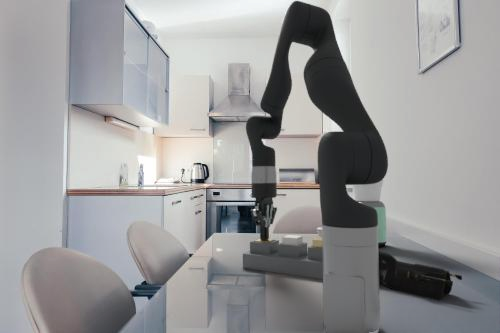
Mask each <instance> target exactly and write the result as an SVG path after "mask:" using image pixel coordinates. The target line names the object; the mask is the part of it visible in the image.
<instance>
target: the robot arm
mask: <svg viewBox="0 0 500 333" xmlns="http://www.w3.org/2000/svg"><path fill="white" fill-rule="evenodd" d="M292 43H295V44H299V45H304V46H306V47H310V48H311V49H312V50H313V51H314V52H313V53H312V54H311V56H310V57H309V58H308V60H307V61H306V63H305V66H304V69H303V81H304V85H305V88H306V91H307V95H308V97H309V99H310V101H311V102H312V104H313V105H314V106H315V107H316V108H317V109H318V110H319V111H320V112H321V113H323V114H324V115H325V116H326V117H328V118H329V119H331V120H332V121H333V122H334V123H335V124H336V125H337V126H338V127H339V128H340V129H341V131H329V132H326V133H324V134H323V135H322V136H321V138H320V140H319V141H318V148H317V172H318V183H319V184H318V186H319V202H320V211H321V227H322V252H323V279H322V300H323V301H322V302H323V307H322V308H323V326H324V327H325V333H369V332H374V331H376V330H378V329H379V328H380V329H381V303H380V302H381V301H380V300H381V298H380V297H381V295H380V283H379V255H378V251H379V246H378V215H377V211H376V209H374V208H373V207H370V206H367V205H364V204H362V203H359V202H357V201H356V200H355V198H353V197H352V196H350V195H349V193H348V189H347V186H353V185H366V184H374V183H378V182H380V181H381V180H382V179H383V180H384V178H385V177H386V176H387V173H388V167H389V161H388V160H389V159H388V158H389V157H388V152H387V149H386V148H387V147H386V146H385V143H384V140H383V138H382V136H381V135H380V134H381V133H380V132H379V130H378V129H377V127H376V125H375V124H374V122H373V120H372V118H371V117H370V115H369V113H368V111H367V110H366V108H365V106H364V104H363V103H362V100H361V98H360V95H359V93H358V91H357V89H356V87H355V85H354V81H353V78H352V76H351V74H350V71H349V68H348V65H347V64H346V62H345V60H344V58H343V55H342V53H341V52H342V51H341V50H340V46H339V44H338V41H337V38H336V33H335V29H334V25H333V21H332V17H331V14H330V13H329V12H328V10H326V9H325V8H322V7H320V6H317V5H313V4H311V3H308V2H303V1H300V0H294V1H293V2H291V3H290V4H289V5H288V7H287V9H286V10H285V14H284V16H283V19H282V21H281V25H280V29H279V34H278V38H277V42H276V47H275V52H274V56H273V60H272V65H271V70H270V73H269V78H268V81H267V83H266V85H265V88H264V91H263V95H262V96H261V98H260V99H261V100H260V104H259V105H260V106H259V107H260V109H261V110H262V111H263V113H266V114H268V115H259V114H254V115H251V116H249V118H248V119H247V121H246V125H245V131H246V135H247V139H248V142H249V145H250V146H249V147H250V150H251V159H252V161H251V164H252V165H251V166H252V168H251V197H252V198H254V199H255V202H254V209H250V215H251V217H252V219H253V221H254V224H255V226H256V227H259V235H260V236H259V239H261V240H268V239H270V227H271V225H273V223H274V220H275V216H276V214H277V211H278V208H277V207H276V206H274V200H273V199H276V198H277V196H278V193H277V184H278V182H277V169H276V168H277V167H276V149H275V148H273V147H272V146H268V145H265V144H264V141H263V140H274V139H277V138H278V136H279V135H280V134H281V132H282V125H283V124H282V122H283V118H284V117H283V116H284V109H285V108H286V105H287V102H288V100H289V97H290V95H291V92H292V87H293V80H292V73H291V69H290V61H289V55H290V54H289V53H290V48H291V46H292Z"/></svg>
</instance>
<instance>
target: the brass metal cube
mask: <svg viewBox="0 0 500 333" xmlns="http://www.w3.org/2000/svg"><path fill="white" fill-rule="evenodd" d="M312 245H313V247H314V248H322V237H318V236H317V237H314V238H313V239H312Z"/></svg>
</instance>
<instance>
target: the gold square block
mask: <svg viewBox="0 0 500 333" xmlns="http://www.w3.org/2000/svg"><path fill="white" fill-rule="evenodd" d="M254 240H255V242H261V243H270V242H273V241H274V240H275V239H273V238H269V239H268V240H261V239H260V238H259V239H254Z"/></svg>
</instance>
